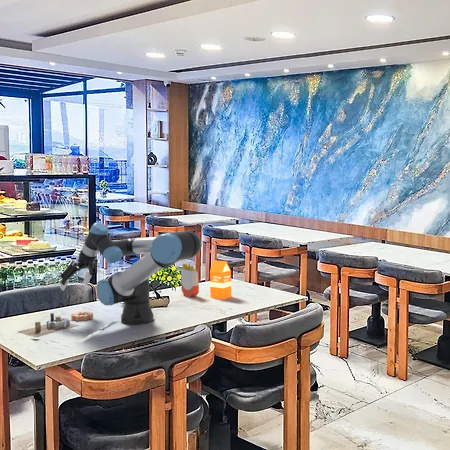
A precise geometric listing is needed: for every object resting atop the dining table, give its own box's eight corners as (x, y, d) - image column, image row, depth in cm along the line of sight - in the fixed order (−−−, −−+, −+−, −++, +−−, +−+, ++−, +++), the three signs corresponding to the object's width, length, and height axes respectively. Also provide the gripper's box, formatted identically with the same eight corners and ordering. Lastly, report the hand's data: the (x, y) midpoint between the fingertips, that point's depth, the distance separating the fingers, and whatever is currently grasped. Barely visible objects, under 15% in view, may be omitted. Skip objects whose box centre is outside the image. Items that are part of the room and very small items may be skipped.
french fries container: (188, 293, 326) (187, 262, 324) (199, 296, 317) (198, 264, 316) (181, 294, 323) (180, 263, 321) (192, 297, 314) (192, 265, 313)
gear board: (79, 328, 256) (78, 316, 255) (36, 340, 238) (35, 327, 238) (59, 324, 264) (59, 312, 264) (16, 335, 247) (16, 322, 246)
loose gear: (97, 320, 269) (96, 313, 269) (80, 325, 262) (80, 317, 261) (84, 317, 275) (83, 310, 275) (67, 322, 268) (67, 314, 267)
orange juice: (218, 294, 322) (217, 259, 320) (231, 296, 316) (230, 260, 315) (210, 297, 315) (209, 261, 313) (223, 299, 310) (222, 262, 308)
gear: (73, 323, 259) (73, 311, 258) (62, 329, 250) (61, 317, 249) (54, 322, 261) (54, 310, 261) (42, 328, 252) (42, 316, 251)
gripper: (105, 243, 277) (89, 276, 286) (62, 250, 257) (47, 285, 266) (114, 253, 274) (98, 286, 283) (71, 261, 254) (56, 296, 263)
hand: (73, 286), depth 274 cm, fingers open, 13 cm apart
